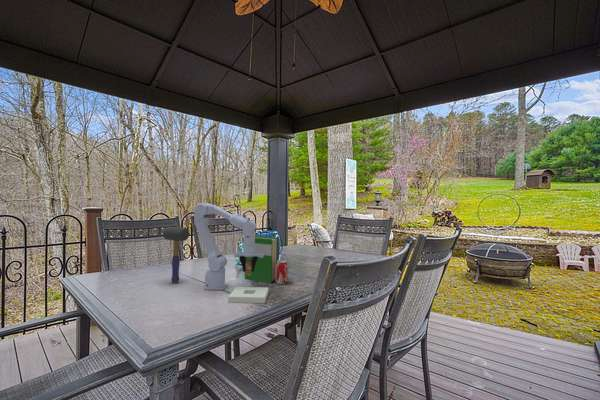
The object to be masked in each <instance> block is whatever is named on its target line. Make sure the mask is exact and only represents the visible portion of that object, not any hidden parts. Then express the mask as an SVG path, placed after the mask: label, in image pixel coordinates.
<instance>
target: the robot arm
mask: <svg viewBox="0 0 600 400" xmlns="http://www.w3.org/2000/svg"><path fill="white" fill-rule="evenodd" d="M193 214H194V215H193V216H194V217H193V221H194V222H193V224H194V226H195V228H196V230H197V233H198V234H199V238H200V239H201V241H202V242H201V243H202V244H203V246H204V248H205V251H206V253H207V262H208V265H207V266H208V269H207V270H206V271H205V274H204V288H203V289H204V290H215V291H224V290H225V288H226V287H227V286H228V284H227V283H226V267H225V266H226V265H227V263H228V260H227V258H226V256H224V255H223V252H221V251H220V250H219V249H218V246H217V244H216V242H215V239H214V237H213V235H212V232H211V230H210V229H209V226H208V224H207V222H208V219H209V217H211V215H217V216H218V217H221V218H222V219H225V220H228V222H229V224H231V225H232V226H234V227H236V228H239V229H240V230H242V231H243V239H242V241H243V246H242V249H243V250H242V251H243V252H234V254H233V257H234V258H239V262H240V264H241V267H242V272H243V273H245V261H246V257H253V258H252V272H254V268H255V264H256V262H257V259H258V257H261V258H263V254H264V253H255V236H256V231H255V230H256V229H257V224H256V222H255V221H254V220H251V219H250V220H249V218H247V217H246V218H245V217H244V216H242V215H241V214H240V213H234V214H232V213H231V212H229V211H227V210H225V209H223V208H221V207H219V206H217V205H215V204H212V203H210V202H206V203H204V202H200V203H199V202H198V203H197V204H196V205H195V207H194V209H193Z"/></svg>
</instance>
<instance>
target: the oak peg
mask: <svg viewBox="0 0 600 400" xmlns="http://www.w3.org/2000/svg"><path fill="white" fill-rule="evenodd" d="M245 272H246V275H251V272H252V260H246V261H245ZM245 272H244V273H245Z"/></svg>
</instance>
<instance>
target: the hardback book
mask: <svg viewBox="0 0 600 400" xmlns="http://www.w3.org/2000/svg"><path fill="white" fill-rule="evenodd" d="M279 238H280V237H272V236H263V235H261V236H260V235H255V253H264V254H263V258H261V257H258V259H257V262H256V264H255V268H254V272H251V275H246V272H244V280H248V281H254V282H259V283H260V282H261V283H265V284H270V285H271V284H272V283H273V281H274V282H275V265H276V263H277V261H278V260H279V248H280V246H279V244H280V243H279V241H280V239H279ZM252 258H253V257H246V260H252Z"/></svg>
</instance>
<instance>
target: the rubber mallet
mask: <svg viewBox="0 0 600 400" xmlns="http://www.w3.org/2000/svg"><path fill="white" fill-rule="evenodd" d="M162 232H163V233H162V236H163V238H164V240H168V241H173V248H172V249H173V250H172V259H171V269H172V272H171V282H172V283H173V284H177V283H179V281H180V272H179V271H180V255H179V242H183V241H184V242H185V241H187V240H188V239H189V236H190V231H189V229H188V228H187V227H183V226H182V227H181V226H167V227H165V228H164V230H163V231H162Z"/></svg>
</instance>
